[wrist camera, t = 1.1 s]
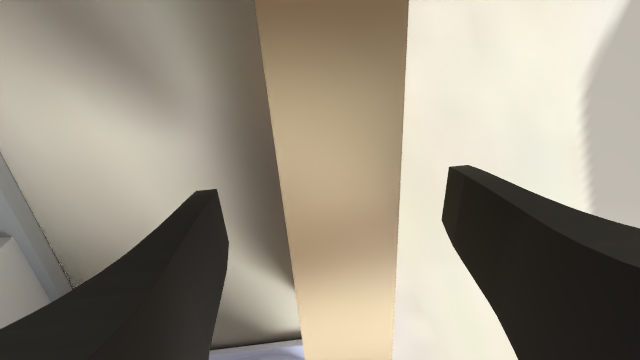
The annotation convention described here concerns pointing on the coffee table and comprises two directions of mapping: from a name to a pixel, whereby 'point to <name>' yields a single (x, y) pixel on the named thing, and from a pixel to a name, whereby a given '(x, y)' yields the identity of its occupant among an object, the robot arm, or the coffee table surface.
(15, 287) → the end cap cradle
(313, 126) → the oak slat
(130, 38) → the coffee table surface
